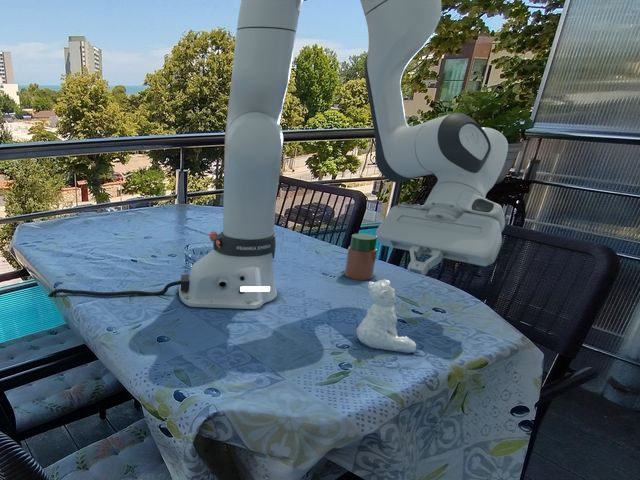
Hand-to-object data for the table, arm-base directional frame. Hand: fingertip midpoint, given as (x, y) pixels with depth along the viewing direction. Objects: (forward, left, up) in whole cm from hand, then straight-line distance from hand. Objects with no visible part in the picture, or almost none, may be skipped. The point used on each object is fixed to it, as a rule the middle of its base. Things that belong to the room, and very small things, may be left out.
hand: (415, 271), depth 84 cm
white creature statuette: (-7, -5, -12) cm, 15 cm away
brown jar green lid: (+4, +29, -11) cm, 31 cm away
